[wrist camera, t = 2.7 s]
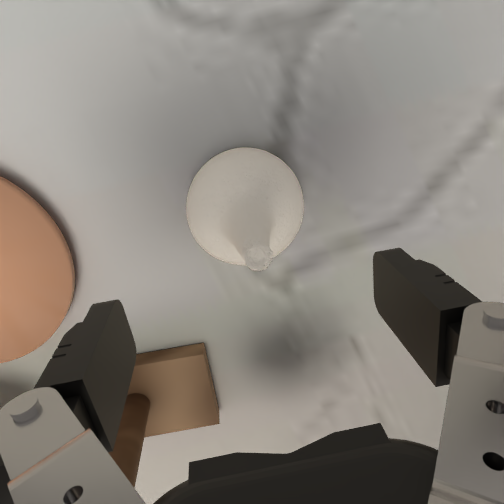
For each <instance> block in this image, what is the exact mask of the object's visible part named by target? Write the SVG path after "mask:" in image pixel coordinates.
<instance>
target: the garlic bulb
mask: <svg viewBox="0 0 504 504" xmlns="http://www.w3.org/2000/svg"><path fill="white" fill-rule="evenodd" d="M186 213H187V221H188V224H189V228H190V230H191V232H192V234H193V236H194V238H195V239H196V241H197V242H198V244H199V245H200V246H201V247H202V248H203V249H204V250H205V251H206V252H207V253H209V254H210V255H211V256H213V257H215V258H217V259H219V260H221V261H223V262H227V263H230V264H236V265H247V267H248V268H249V269H251V270H253V271H254V270H255V271H261V270H265V269H266V268H268V267H267V266H268V265H270V262H272V260H271V259H273V257H275V256H277V255H278V254H280V253H281V252H282V251H283V250H285V249H286V248H287V247H288V246H289V245H290V243H291V242H292V241H293V239H294V238H295V236H296V235H297V233H298V231H299V229H300V226H301V223H302V219H303V213H304V200H303V194H302V190H301V187H300V184H299V182H298V179H297V178H296V176H295V174H294V173H293V171H292V170H291V169H290V168H289V167H288V165H286V164H285V163H284V162H283V161H282V160H281V159H280V158H279V157H276V156H275V155H273V154H271V153H269V152H267V151H265V150H261V149H256V148H249V147H248V148H246V147H242V148H235V149H230V150H227V151H224V152H222V153H220V154H218V155H216V156H215V157H213V158H212V159H210V160H209V161H208V162H207V163H205V164H204V165H203V166H202V168H201V169H200V170H199V171H198V173H197V174H196V176H195V177H194V179H193V181H192V183H191V186H190V188H189V191H188V195H187V200H186Z"/></svg>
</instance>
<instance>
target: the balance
mask: <svg viewBox="0 0 504 504" xmlns="http://www.w3.org/2000/svg"><path fill="white" fill-rule="evenodd" d="M215 424H219V408H218V403H217V399H216V395H215V390H214V386H213V381H212V377H211V372H210V368H209V364H208V359H207V355H206V350H205V346H204V343H199V344H193V345H188V346H182V347H176V348H170V349H164V350H158V351H153V352H147V353H141V354H136V362H135V366H134V370H133V374H132V378H131V382H130V386H129V390H128V394H127V398H126V402H125V406H124V410H123V414H122V418H121V422H120V426H119V430H118V433H117V437H116V441H115V445H114V449H113V451H112V452H108V453H109V455H110V456H111V457H112V459H113V460H114V461H115V463H116V464H117V465H118V467H119V468H120V469H121V471H122V472H123V474H124V475H125V476H126V478H127V479H128V480H129V482H130V483H131V484H132V486H133V487H135V482H136V477H137V472H138V467H139V461H140V456H141V451H142V446H143V441H144V437H148V436H154V435H160V434H165V433H171V432H176V431H182V430H187V429H193V428H198V427H204V426H210V425H215Z"/></svg>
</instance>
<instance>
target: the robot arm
mask: <svg viewBox="0 0 504 504" xmlns="http://www.w3.org/2000/svg"><path fill="white" fill-rule="evenodd" d="M373 279H374V300H375V305H376V308H377V310H378V312H379V314H380V315H381V317H382V318H383V319H384V321H385V322H386V323H387V325H388V326H389V327H390V328H391V330H392V331H393V332H394V334H395V335H396V336H397V337H398V339H399V340H400V341H401V343H402V344H403V345H404V347H405V348H406V349H407V350H408V352H409V353H410V354H411V356H412V357H413V358H414V359H415V361H416V362H417V363H418V365H419V366H420V367H421V369H422V370H423V371H424V372H425V374H426V375H427V376H428V378H429V379H430V380H431V381H432V383H433V384H434V385H435V387H438V386H443V385H448V384H450V385H449V391H448V397H447V403H446V408H445V414H444V420H443V426H442V432H441V438H440V444H439V450H436V449H434V448H431V447H428V446H426V445H423V444H420V443H416V442H411V441H407V440H400V439H390V438H388V437H387V435H386V433H385V431H384V429H383V427H382V425H381V423H378V424H373V425H368V426H363V427H358V428H354V429H349V430H344V431H339V432H334V433H332V434H330V435H328V436H326V437H324V438H321V439H319V440H317V441H315V442H313V443H311V444H309V445H307V446H305V447H302V448H300V449H298V450H296V451H294V452H291V453H288V454H269V453H232V454H228V455H223V456H218V457H213V458H208V459H203V460H198V461H194V462H189V480H187V481H185V482H183V483H181V484H179V485H178V486H176V487H174V488H173V489H171V490H170V491H168V492H167V493H166V494H164V495H163V496H162V497H160V498H159V499H158V500H157V501H156V502H155V503H154V504H504V303H499V302H482V301H481V300H479V299H478V298H477V297H475V296H474V295H473V294H472V293H470V292H469V291H468V290H466V289H465V288H464V287H462V286H461V285H460V284H459V283H457V282H455V281H454V280H453V279H452V278H451V277H449V276H448V275H446V273H444V272H443V271H442V270H440V269H439V268H438V267H436V266H435V265H433V264H430V263H427V262H425V261H422V260H415V259H413V258H412V257H411V256H410V255H408V254H407V253H406V252H405V251H404V250H402V249H401V248H395V249H389V250H384V251H379V252H375V254H374V256H373ZM135 362H136V346H135V341H134V338H133V335H132V332H131V329H130V326H129V323H128V320H127V317H126V314H125V311H124V308H123V306H122V303H121V302H120V301H119V300H112V301H107V302H101V303H96V304H93V305H92V306H91V308H90V310H89V312H88V313H87V315H86V317H85V319H84V321H83V322H80V323H77V324H76V325H75V326H74V327H72V328H71V329H70V330H69V331H68V332H67V333H66V334H65V335H64V336H63V338H62V340H61V342H60V343H59V345H58V349H56V350H55V352H54V354H53V356H52V359H50V361H49V363H48V365H47V366H46V368H45V370H44V372H43V373H42V375H41V377H40V379H39V380H38V382H37V384H36V386H35V387H34V389H33V390H29V391H27V392H25V393H23V394H21V395H19V396H17V397H15V398H14V399H12V400H11V401H9V402H8V403H7V404H5V405H4V406H3V407H2V408H1V409H0V504H146V503H145V502H144V501H143V499H142V498H141V497H140V495H139V494H138V493H137V491H136V490H135V488H134V487H133V486H132V484H131V483H130V482H129V480H128V479H127V478H126V476H125V475H124V474H123V472H122V471H121V469H120V468H119V467H118V465H117V464H116V463H115V461H114V460H113V459H112V457H111V456H110V455H109V453H108V452H112V451H113V449H114V445H115V441H116V437H117V433H118V430H119V426H120V422H121V418H122V414H123V410H124V406H125V402H126V398H127V394H128V390H129V386H130V382H131V378H132V374H133V370H134V366H135Z"/></svg>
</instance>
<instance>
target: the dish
mask: <svg viewBox="0 0 504 504" xmlns="http://www.w3.org/2000/svg"><path fill="white" fill-rule="evenodd" d="M74 289H75V272H74V264H73V260H72V256H71V253H70V250H69V247H68V245H67V243H66V240H65V238H64V236H63V235H62V233H61V231H60V229H59V228H58V226H57V224H56V223H55V222H54V221H53V219H52V218H51V217H50V215H49V214H48V213H47V212H46V211H45V210H44V209H43V208H42V206H41V205H40V204H39V203H38V202H37V201H36V200H34V199H33V198H32V197H31V196H30V195H28V194H27V193H26V192H25V191H24V190H22V189H21V188H19V187H18V186H16V185H15V184H13V183H12V182H10V181H9V180H7V179H5V178H3V177H1V176H0V363H3V362H8V361H11V360H14V359H17V358H20V357H22V356H24V355H26V354H28V353H30V352H32V351H34V350H35V349H37V348H38V347H39V346H41V345H42V344H44V343H45V342H46V341H47V340H48V339H49V338H50V337H51V336H52V335H53V333H54V332H55V331H56V330H57V328H58V327H59V326H60V324H61V322H62V321H63V319H64V317H65V316H66V314H67V312H68V310H69V308H70V305H71V302H72V300H73V294H74Z"/></svg>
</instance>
